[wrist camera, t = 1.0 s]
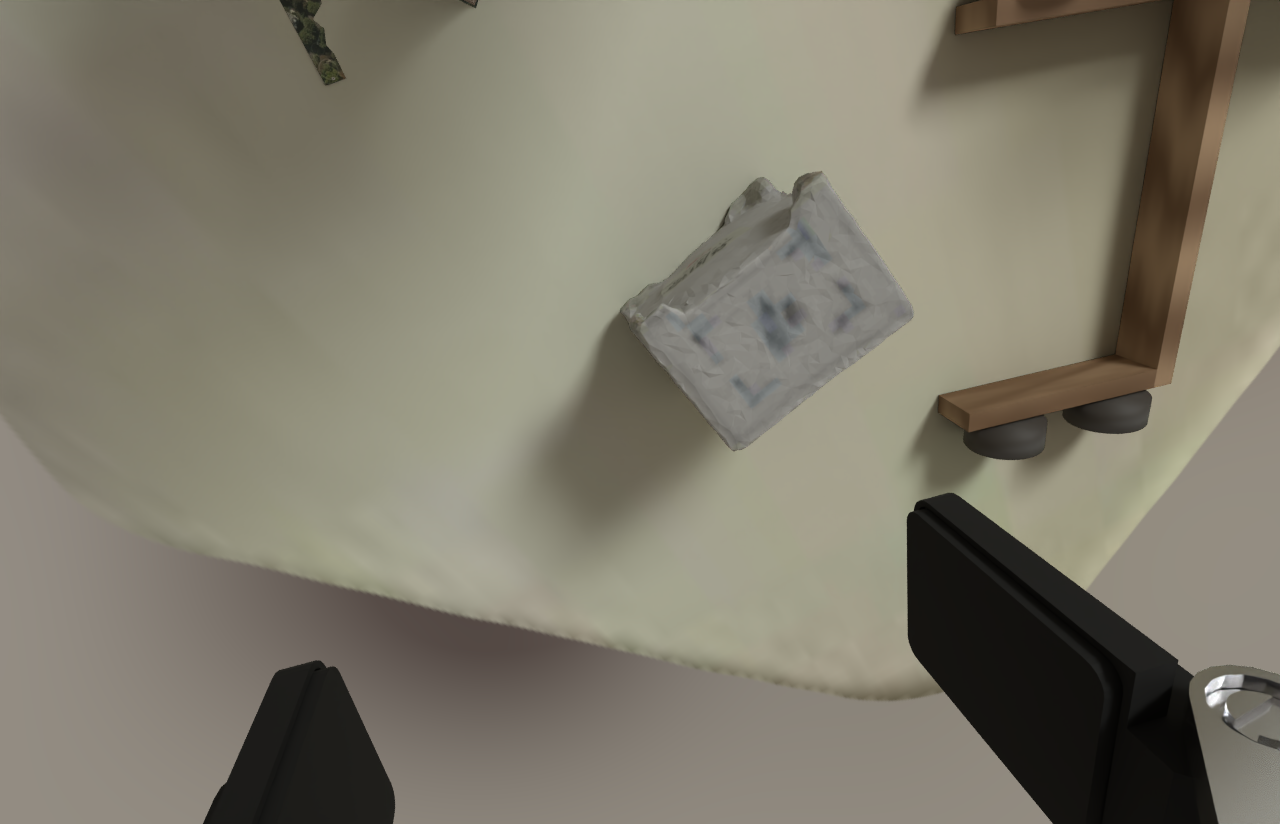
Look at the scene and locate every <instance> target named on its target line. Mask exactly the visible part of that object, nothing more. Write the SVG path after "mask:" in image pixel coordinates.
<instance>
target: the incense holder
mask: <svg viewBox="0 0 1280 824" xmlns="http://www.w3.org/2000/svg"><path fill="white" fill-rule="evenodd" d="M620 312H621V313H622V314H623V315H624V316H625V318H626V319H627V320H628V322H629V327H630V329H631V331H632V332H633V333H634V334H635V335H636V337H637V338H638V339H639V340H640V341H641V342H642V344H643V345H644V346H645V347H646V348H647V350H648V351H649V352H650V354H651V355H652V356H653V357H654V359H655V360H656V361H657V362H658V363H659V364H660V365H661V366H662V368H663V369H664V370H665V371H667V373H668V374H669V375H670V377H671V378H672V380H673V381H674V383H675V384H676V385H677V386H678V387H679V388H680V390H681V391H682V392H683V393H684V394H685V395H686V397H687V398H688V399H689V400H690V401H691V402H692V403H693V405H694V406H695V407H696V409H697V410H698V411H699V412H700V413H701V415H702V416H703V417H704V418H705V419H706V420H707V422H708V423H709V424H710V426H711V427H712V428H713V429H714V430H715V431H716V432H717V433H718V435H719V436H720V437H721V438H722V440H723V441H724V442H725V444H726V445H727V446H728V447H729V448H730V449H731V450H733V451H736V450H742V449H744V448H746V447H748V446H749V445H750V444H751V443H753V442H754V441H755V440H756V439H758V438H759V437H760V436H761V435H762V434H763V433H765V432H766V431H767V430H769V429H770V428H771V427H773V426H774V425H775V424H777V423H778V422H779V421H780V420H781V419H782V418H784V417H785V416H786V415H787V414H789V413H790V412H791V411H792V410H794V409H795V408H796V407H797V406H798V405H800V404H801V403H802V402H803V401H804V400H806V399H807V398H809V397H810V396H812V395H813V394H814V393H815V392H816V391H817V390H819V389H820V388H821V387H822V386H823V385H825V384H826V383H827V382H829V381H830V380H831V379H832V378H834V377H835V376H836V375H838V374H839V373H840V372H842V371H843V370H845V369H846V368H848V367H849V366H851V365H852V364H854V363H855V362H857V361H858V360H859V359H860V358H862V357H863V356H865V355H866V354H867V353H869V352H870V351H871V350H873V349H874V348H875V347H877V346H878V345H879V344H881V343H882V342H883V341H884V340H885V339H886V338H887V337H889V336H890V335H891V334H893V333H894V332H896V331H897V330H898V329H900V328H901V327H902V326H904V325H905V324H906V323H908V322H909V321H910V320H911V319H912V318H913V315H914V312H913V308H912V305H911V303H910V302H909V300H908V298H907V297H906V295H905V293H904V292H903V290H902V288H901V287H900V285H899V284H898V282H897V281H896V279H895V278H894V277H893V275H892V274H891V272H890V271H889V269H888V267H887V266H886V264H885V263H884V261H883V260H882V258H881V257H880V255H879V254H878V253H877V251H876V250H875V248H874V247H873V245H872V244H871V242H870V241H869V239H868V238H867V237H866V236H865V234H864V233H863V232H862V230H861V229H860V227H859V225H858V224H857V222H856V220H855V219H854V217H853V216H852V215H851V214H850V212H849V211H848V210H847V209H846V207H845V206H844V204H843V203H842V201H841V200H840V198H839V197H838V195H837V194H836V192H835V191H834V189H833V188H832V187H831V185H830V183H829V181H828V179H827V177H826V175H825V174H824V173H823V172H822V171H819V172H812V173H807V174H805V175H803V176H801V177H799V178H798V179H797V180H796V182H795V183H794V187H793V191H792V194H791V193H790V194H788V195H787V194H786V193H785V192H783V191H782V193H781V192H779V191H778V190H776V188H775V187H774V186H773V184H772V183H771V182H770V181H769V180H768V179H766V178H764V177H760V178H757V179H756V180H755V181H754V182H752V183H751V184H750V185H749V186H748V188H747V189H746V190H745V192H744V193H743V194H742V195H741V196H740V197H739V198H737V199H736V200H735V201H734V202H733V203H732V204H731V207H730V209H729V212H728V214H727V216H726V218H725V224H724V225H723V227H722V228H721V229H719V230H718V231H717V232H716V233H715V234H714V235H712V236H711V237H710V238H709V239H708V240H707V241H706V242H704V243H703V244H701V245H700V246H699V247H698V248H697V249H696V250H695V251H694V252H693V253H692V254H690V255H689V256H688V257H687V259H686V260H685V261H684V262H683V263H682V264H681V265H680V266H679V267H678V268H677V270H676V271H675V272H674V273H672V274H671V275H670V276H669V277H668V278H667V279H665V280H663V282H660V283H653V284H649V285H648V286H647V287H645V288H644V289H643V290H642V291H641V292H640V293H639V294H638V296H636V297H633V298H631V299H629V300H628V301H627V302H626V303H625V304H624V305H623V307H622V308H621V309H620Z"/></svg>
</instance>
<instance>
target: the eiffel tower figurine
mask: <svg viewBox="0 0 1280 824" xmlns="http://www.w3.org/2000/svg"><path fill="white" fill-rule="evenodd" d="M460 1H462V2H464V3H466V4H468V5H470V6H472V7H474V8H476V6H477V3H478V0H460ZM280 2H281V3H282V5H283V7H284V9H285V11H286V13H287V14H288V16H289V18H290V20H291V22H292V24H293V25H294V27H295V29H296V31H297V33H298V35H299V36H300V38H301V40H302V42H303V44H304V46H305V48H306V49H307V51H308V53H309V55H310V57H311V59H312V60H313V62H314V64H315V66H316V68H317V70H318V72H319V74H320V76H321V77H322V79H323V81H324V83H325V85H328V84H331V83H334V82H337V81H339V80H342V79H345V78H346V77H345V75H344V73H343V71H342V69H341V67H340V65H339V63H338V61H337V59H336V57H335V55H334V53H333V52H332V51H331V50H330V49H329V48H328V47H327V46H326V41H325V33H324V28H323V27H321V26H320V25H319V24H317V23H316V22H315V21H313V18H314V16H315V14H316V13H317V11H318V9H319V7H320V5H321V0H280Z"/></svg>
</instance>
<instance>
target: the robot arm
mask: <svg viewBox="0 0 1280 824" xmlns="http://www.w3.org/2000/svg"><path fill="white" fill-rule="evenodd" d="M907 597H908V640H909V644H910V646H911V649H912V651H913V653H914V655H915V656H916V658H917V659H918V660H919V662H920V663H921V664H922V665H923V666H924V668H925V669H926V670H927V671H928V673H929V674H930V675H931V676H932V677H933V679H934V680H935V681H936V682H937V683H938V685H939V686H940V687H941V688H942V690H943V691H944V692H945V693H946V694H947V696H948V697H949V698H950V699H951V700H952V702H953V703H954V704H955V705H956V707H957V708H958V709H959V710H960V711H961V713H962V714H963V715H964V716H965V717H966V719H967V720H968V721H969V722H970V724H971V725H972V726H973V727H974V728H975V729H976V731H977V732H978V733H979V734H980V735H981V737H982V738H983V739H984V741H985V742H986V743H987V744H988V745H989V746H990V748H991V749H992V750H993V751H994V752H995V754H996V755H997V756H998V758H999V759H1000V760H1001V761H1002V762H1003V764H1004V765H1005V766H1006V767H1007V768H1008V770H1009V771H1010V772H1011V773H1012V774H1013V776H1014V777H1015V778H1016V779H1017V780H1018V782H1019V783H1020V784H1021V785H1022V787H1023V788H1024V789H1025V790H1026V791H1027V793H1028V794H1029V795H1030V796H1031V798H1032V799H1033V800H1034V801H1035V802H1036V804H1037V805H1038V806H1039V807H1040V808H1041V810H1042V811H1043V812H1044V813H1045V814H1046V816H1047V817H1048V818H1049V819H1050V821H1051V822H1052V823H1053V824H1280V675H1279V674H1276V673H1272V672H1268V671H1265V670H1261V669H1257V668H1253V667H1245V666H1236V665H1224V666H1213V667H1209V668H1207V669H1204V670H1202V671H1200V672H1197V674H1196V675H1195V676H1193V675H1191V674H1190V673H1189V672H1188V671H1186V670H1185V669H1184V668H1182V667H1181V666H1180V665H1178V659H1176V658H1175V657H1173V656H1172V655H1171V654H1169V653H1168V652H1167V651H1165V650H1164V649H1163V648H1161V647H1160V646H1158V645H1157V644H1156V643H1155V642H1153V641H1152V640H1151V639H1149V638H1148V637H1147V636H1145V635H1144V634H1143V633H1141V632H1140V631H1139V630H1137V629H1136V628H1135V627H1133V626H1132V625H1131V624H1129V623H1128V622H1127V621H1125V620H1124V619H1123V618H1121V617H1120V616H1119V615H1117V614H1116V613H1115V612H1113V611H1112V610H1110V609H1109V608H1108V607H1107V606H1105V605H1104V604H1103V603H1101V602H1100V601H1099V600H1097V599H1096V598H1094V597H1093V596H1092V595H1090V594H1089V593H1088V592H1086V591H1085V590H1084V589H1082V588H1081V587H1080V586H1078V585H1077V584H1076V583H1074V582H1073V581H1072V580H1070V579H1069V578H1068V577H1066V576H1065V575H1064V574H1062V573H1061V572H1060V571H1058V570H1057V569H1056V568H1054V567H1053V566H1052V565H1050V564H1049V563H1048V562H1046V561H1045V560H1044V559H1042V558H1041V557H1040V556H1038V555H1037V554H1036V553H1034V552H1033V551H1032V550H1030V549H1029V548H1028V547H1026V546H1025V545H1024V544H1022V543H1021V542H1020V541H1018V540H1017V539H1016V538H1014V537H1013V536H1011V535H1010V534H1009V533H1007V532H1006V531H1005V530H1003V529H1002V528H1001V527H999V526H998V525H997V524H995V523H994V522H993V521H991V520H990V519H989V518H987V517H986V516H985V515H983V514H982V513H981V512H979V511H978V510H977V509H975V508H974V507H973V506H971V505H970V504H969V503H967V502H966V501H965V500H963V499H962V498H961V497H959V496H958V495H956V494H954V493H946V494H943V495H939V496H935V497H931V498H928V499H924V500H920V501H918V502H917V503H916V505H915V507H914V511H913V512H910V513H909V514H908V516H907ZM394 813H395V797H394V791H393V788H392V785H391V782H390V780H389V778H388V776H387V774H386V772H385V769H384V767H383V765H382V763H381V761H380V759H379V756H378V754H377V752H376V750H375V748H374V746H373V744H372V741H371V739H370V737H369V735H368V733H367V731H366V729H365V726H364V724H363V722H362V720H361V718H360V715H359V713H358V711H357V709H356V707H355V705H354V703H353V700H352V698H351V696H350V694H349V692H348V690H347V687H346V685H345V683H344V681H343V679H342V677H341V674H340V672H339V671H338V669H337V668H336V667H328V668H326V666H325V665H324V664H323V663H322V662H321V661H313V662H309V663H305V664H301V665H297V666H294V667H290V668H286V669H282V670H279V671H278V672H276V673H275V675H274V676H273V678H272V680H271V683H270V685H269V687H268V689H267V692H266V694H265V696H264V699H263V701H262V703H261V705H260V708H259V710H258V712H257V714H256V717H255V719H254V721H253V724H252V726H251V728H250V730H249V733H248V735H247V737H246V739H245V742H244V744H243V746H242V749H241V751H240V753H239V755H238V758H237V760H236V762H235V764H234V767H233V769H232V771H231V774H230V776H229V778H228V780H227V782H226V783H225V784H224V785H223V786H222V787H221V788H220V790H219V792H218V793H217V795H216V797H215V798H214V800H213V803H212V805H211V807H210V809H209V811H208V814H207V816H206V818H205V820H204V823H203V824H393V819H394Z"/></svg>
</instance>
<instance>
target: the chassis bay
mask: <svg viewBox="0 0 1280 824" xmlns="http://www.w3.org/2000/svg"><path fill="white" fill-rule="evenodd" d="M1154 1H1160V0H980V1H976V2H972V3H969V4H965V5H961V6H957V7H956V22H955V35H956V34H962V33H968V32H974V31H980V30H986V29H992V28H998V27H1004V26H1010V25H1016V24H1022V23H1028V22H1034V21H1040V20H1046V19H1052V18H1058V17H1064V16H1070V15H1076V14H1082V13H1088V12H1094V11H1100V10H1106V9H1112V8H1118V7H1124V6H1130V5H1136V4H1142V3H1148V2H1154ZM1250 1H1251V0H1174V2H1173V8H1172V14H1171V20H1170V26H1169V32H1168V38H1167V44H1166V50H1165V56H1164V62H1163V69H1162V75H1161V81H1160V87H1159V93H1158V99H1157V105H1156V111H1155V117H1154V123H1153V129H1152V135H1151V141H1150V147H1149V153H1148V159H1147V165H1146V172H1145V178H1144V184H1143V190H1142V196H1141V202H1140V208H1139V214H1138V220H1137V226H1136V232H1135V238H1134V244H1133V250H1132V256H1131V262H1130V269H1129V275H1128V281H1127V287H1126V293H1125V299H1124V305H1123V311H1122V317H1121V323H1120V329H1119V335H1118V341H1117V347H1116V353H1115V354H1114V355H1110V356H1105V357H1101V358H1097V359H1093V360H1088V361H1084V362H1080V363H1075V364H1071V365H1067V366H1062V367H1058V368H1054V369H1050V370H1045V371H1041V372H1037V373H1032V374H1028V375H1024V376H1020V377H1015V378H1011V379H1007V380H1002V381H998V382H994V383H989V384H985V385H981V386H977V387H972V388H968V389H964V390H959V391H955V392H951V393H946V394H942V395H939V404H938V413H940V414H941V415H943V416H944V417H946V418H947V419H949V420H950V421H952V422H954V423H955V424H957V425H958V426H960V427H961V428H963V429H964V436H963V441H964V444H965V445H966V446H967V447H968V448H969V449H970V450H972V451H973V452H975V453H977V454H980V455H982V456H986V457H990V458H994V459H1002V460H1020V459H1026V458H1030V457H1034V456H1036V455H1038V454H1040V453H1041V452H1042V451H1043V450H1044V446H1045V438H1046V430H1047V419H1046V417H1045V416H1044V415H1043V414H1047V413H1051V412H1055V411H1059V410H1063V413H1062V415H1063V418H1064V419H1065V420H1066V421H1067V422H1069V423H1070V424H1072V425H1074V426H1076V427H1078V428H1081V429H1084V430H1088V431H1093V432H1098V433H1107V434H1123V433H1131V432H1135V431H1138V430H1141V429H1143V428H1144V427H1145V426H1146V425H1147V422H1148V417H1149V412H1150V407H1151V402H1152V396H1151V394H1150V393H1149V392H1148V391H1146V389H1150V388H1155V387H1159V386H1163V385H1167V384H1171V381H1172V377H1173V372H1174V367H1175V362H1176V357H1177V353H1178V348H1179V343H1180V338H1181V333H1182V328H1183V324H1184V319H1185V314H1186V309H1187V304H1188V300H1189V295H1190V290H1191V285H1192V280H1193V275H1194V271H1195V266H1196V261H1197V256H1198V251H1199V247H1200V242H1201V237H1202V232H1203V227H1204V222H1205V218H1206V213H1207V208H1208V203H1209V198H1210V194H1211V189H1212V184H1213V179H1214V174H1215V170H1216V165H1217V160H1218V155H1219V150H1220V145H1221V141H1222V136H1223V131H1224V126H1225V121H1226V117H1227V112H1228V107H1229V102H1230V97H1231V92H1232V88H1233V83H1234V78H1235V73H1236V68H1237V64H1238V59H1239V54H1240V49H1241V44H1242V39H1243V35H1244V30H1245V25H1246V20H1247V15H1248V11H1249V6H1250Z"/></svg>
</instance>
